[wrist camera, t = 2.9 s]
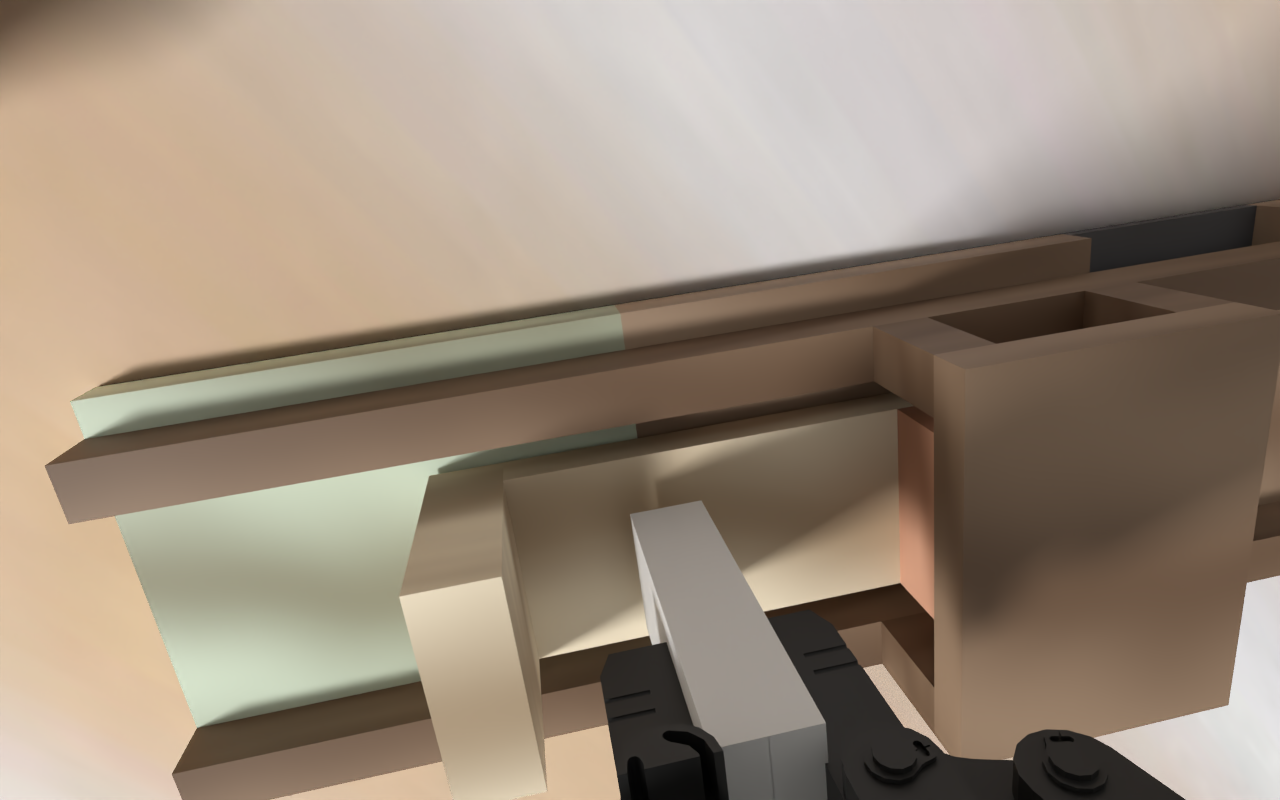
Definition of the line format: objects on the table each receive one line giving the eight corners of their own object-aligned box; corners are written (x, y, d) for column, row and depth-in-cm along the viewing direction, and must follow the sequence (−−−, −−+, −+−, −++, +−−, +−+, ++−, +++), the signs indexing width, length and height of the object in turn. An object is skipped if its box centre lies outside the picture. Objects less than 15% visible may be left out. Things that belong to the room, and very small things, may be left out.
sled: (429, 476, 16) (399, 596, 12) (1202, 337, 19) (1425, 395, 14) (469, 646, 18) (456, 812, 13) (1183, 499, 20) (1381, 599, 15)
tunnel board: (95, 387, 16) (-119, 507, 10) (1316, 193, 19) (1635, 208, 14) (237, 763, 19) (128, 1005, 14) (1262, 542, 22) (1503, 666, 17)
